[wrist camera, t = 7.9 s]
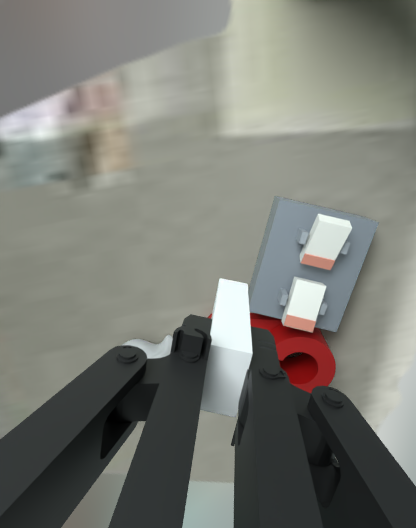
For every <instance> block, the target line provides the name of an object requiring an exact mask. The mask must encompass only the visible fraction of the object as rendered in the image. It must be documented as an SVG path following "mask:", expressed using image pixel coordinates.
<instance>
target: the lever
mask: <svg viewBox="0 0 416 528" xmlns="http://www.w3.org/2000/svg"><path fill="white" fill-rule="evenodd" d="M208 318H210V319H211V318H212V314H211V315H210V316H209V317H208ZM250 325H251V326H252V327H257V328H262V329H267V330H269V331H270V333H271V334H272V335H273V336H274V339H275V345H276V349H277V350H276V351H277V354H278V359H279V364H280V367H281V368H282V369H283V370H284V371H285V372H286V373H287V375H288V377H289V380H290V383H291V384H292V385H294V386H296V387H298V388H300V389H302V390H304V391H306V392H309V393H311V392H312V389H313V388H315V387H316V386H328V385H329V384H330V383H331V381H332V379H333V377H334V374H335V369H336V365H335V360H334V357H333V355H332V353H331V351H330V349H329V347H328V345H327V343H326V341H325V339H324V337H323V335H322V333H321V331H320V329H319V328H316V327H314V330H313V332H308V331H304V330H300V329H295V328H291V327H287V326H283V324H282V319H279V318H274V317H270V316H266V315H262V314H258V313H250ZM295 352H303V353H302V354H301V355H299V356H297V357H286V356H288V355H290V354H292V353H295Z"/></svg>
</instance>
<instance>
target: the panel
mask: <svg viewBox="0 0 416 528" xmlns="http://www.w3.org/2000/svg"><path fill="white" fill-rule="evenodd" d="M318 214H322V215H326V216H331V217H335V218H339V219H343V220H348V221H350V224H351V226H352V230H351V232H350V233H349V235H348V237H347V239H346V241H345V243H344V245H343V246H342V248H341V250H340V252H339V254H338V256H337V258H336V259H335V262H334V264H333V266H332V268H331V270H327V269H323V268H319V267H315V266H310V265H306V264H302V263H300V256H299V255H300V253H301V251H302V249H303V246H304V245H305V243H306V240H307V237H308V235H309V233H310V231H311V228H312V226H313V224H314V222H315V219H316V217H317V215H318ZM378 223H379V222H376V221H374V220H371V219H369V218H366V217H364V216H360V215H355V214H351V213H347V212H343V211H338V210H334V209H330V208H325V207H321V206H317V205H313V204H308V203H304V202H300V201H295V200H291V199H287V198H282V197H278V196H275V197H274V201H273V205H272V208H271V212H270V215H269V219H268V223H267V226H266V230H265V233H264V237H263V240H262V244H261V248H260V251H259V255H258V258H257V262H256V265H255V269H254V273H253V276H252V280H251V283H250V287H249V290H248V297H249V311H250V312H253V313H258V314H262V315H266V316H270V317H274V318H279V319H282V317H283V314H284V310H285V307H286V303H287V300H288V296H289V293H290V289H291V286H292V282H293V279H294V276H295V277H299V278H303V279H307V280H311V281H316V282H320V283H323V284H324V285H325V286H326V289H325V293H324V296H323V299H322V302H321V306H320V309H319V312H318V315H317V319H316V323H315V327H316V328H321V329H325V330H329V331H333V332H337V329H338V327H339V324H340V322H341V319H342V317H343V314H344V311H345V309H346V306H347V304H348V301H349V298H350V296H351V293H352V291H353V288H354V285H355V283H356V280H357V278H358V275H359V272H360V270H361V267H362V265H363V262H364V260H365V257H366V254H367V252H368V249H369V247H370V244H371V241H372V239H373V236H374V234H375V231H376V228H377V226H378Z"/></svg>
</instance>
